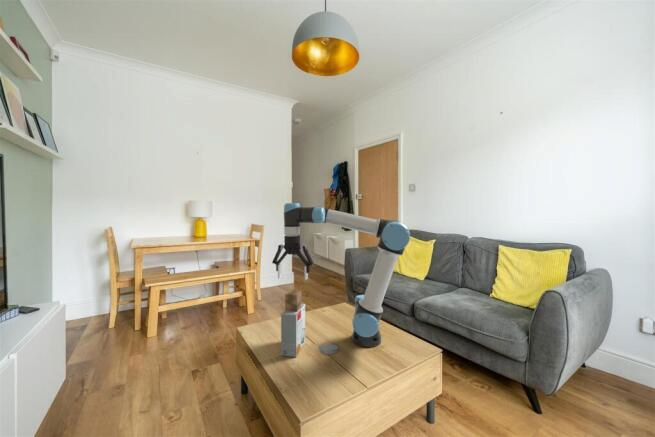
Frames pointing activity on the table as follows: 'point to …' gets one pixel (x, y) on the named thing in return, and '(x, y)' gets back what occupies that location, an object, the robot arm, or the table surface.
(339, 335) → the table surface
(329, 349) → the slate coaster
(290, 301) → the walnut block
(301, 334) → the hard drive box
